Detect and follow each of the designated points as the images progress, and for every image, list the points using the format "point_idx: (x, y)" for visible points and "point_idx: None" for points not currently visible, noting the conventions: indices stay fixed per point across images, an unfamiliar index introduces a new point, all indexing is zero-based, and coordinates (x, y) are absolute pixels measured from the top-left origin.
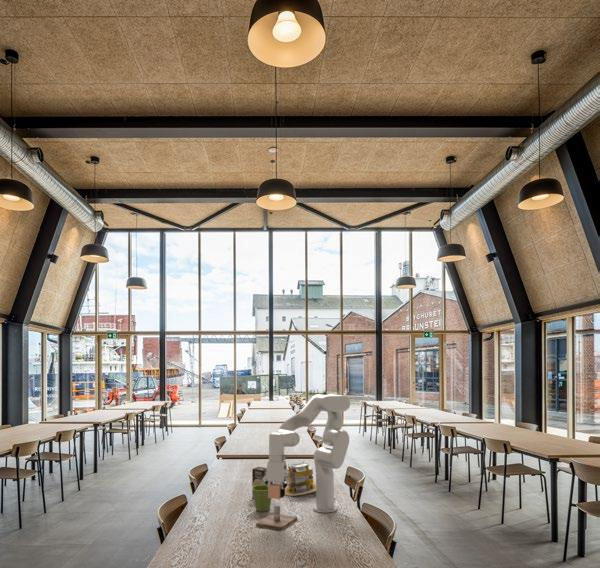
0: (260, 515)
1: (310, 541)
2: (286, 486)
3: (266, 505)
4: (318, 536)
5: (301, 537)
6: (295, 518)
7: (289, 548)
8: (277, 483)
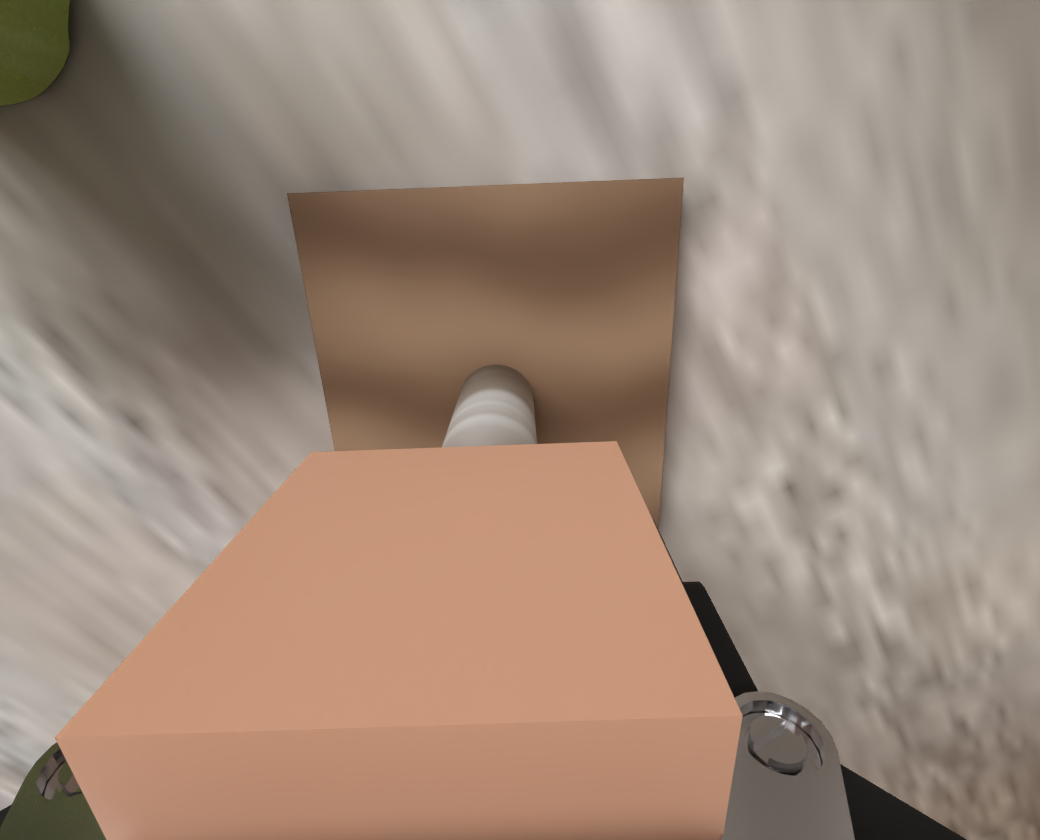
0: (153, 247)
1: (979, 624)
2: (901, 821)
3: (9, 21)
4: (1036, 512)
5: (882, 589)
6: (677, 231)
7: (849, 765)
8: (374, 824)
